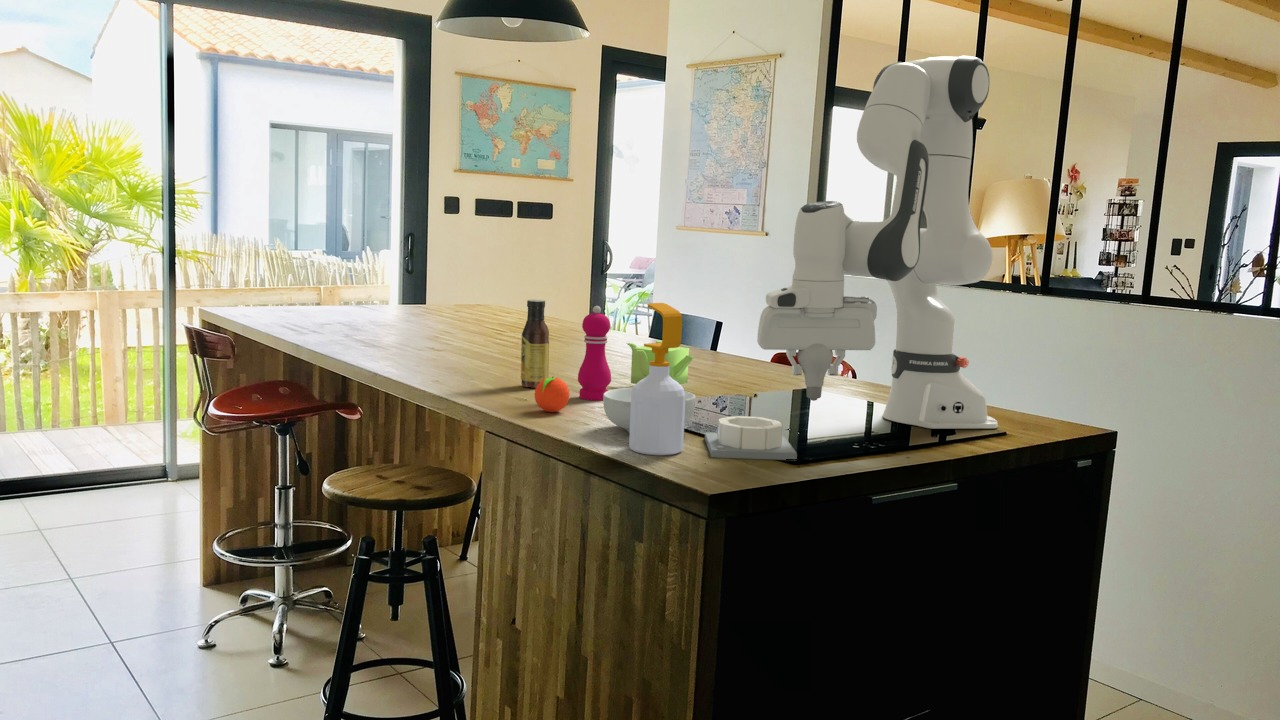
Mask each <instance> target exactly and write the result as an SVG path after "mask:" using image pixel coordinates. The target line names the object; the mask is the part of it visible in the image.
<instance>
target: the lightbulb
mask: <svg viewBox="0 0 1280 720" xmlns="http://www.w3.org/2000/svg"><path fill="white" fill-rule="evenodd" d="M833 359H834V354H833V350H830V349H829V348H828V347H826V346H825V345H823V344H812V345H810V346H809V347H807V348H806V349H804V350H797V362H798V364H800V365H801V366H802V370H801V371H802V374H803V376H804V384H805V387H806V397H807V398H809V400H811V401H813V402H814V401H817V400H818V399H821V397H822V393H823V392H822V391H823V390H822V389H823V387H824V381H825V376H826V373H828V370H829V369H828V368H829V367H830V365H831V364H833Z"/></svg>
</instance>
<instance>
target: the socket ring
mask: <svg viewBox="0 0 1280 720" xmlns="http://www.w3.org/2000/svg"><path fill="white" fill-rule="evenodd" d="M717 422H718V423H717V424H718V425H717V433H718V441H719V444H722V445H726V446H730V447H735V448H741V449H761V450H765V449H772V448H776V447H781V445H782V435H783V429H784V428H783V426H784V425H782V423H781V422H780V421H779V420H776V419H771V418H766V417H762V416H759V417H758V416H746V415H745V416H744V415H732V416H727V417H721V418H718V421H717Z"/></svg>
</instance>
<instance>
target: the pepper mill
mask: <svg viewBox="0 0 1280 720" xmlns="http://www.w3.org/2000/svg"><path fill="white" fill-rule="evenodd" d="M601 311H602V309H601V307H600V306H599V305H595V306H594V307H593V308H592V312H593V313H589V314H587V315H586V316H585V317H583V320H582V324H581V325H582V326H581V327H582V330H583V332H584V333H585V335H584V340H583V342H584V343H585V354H584V358H583V360H582V364H581V365H580V368H579V370H578V373H577V374H578V375H577V381H578V383H579V385H580V386H581V387H582V388H580V389H579V393H578V394H579V398H580V400H584V401H585V400H586V401H593V402H595V401H603V394H604V393H605V392H607V391H609V390H608V389H607V387H608V386H609V385H610V384H611V382H612V373H611V369H610V366H609V364H608V361H607V358H606V357H607V356H606V344H607V343H608V336H607V334H608V333H609V332H610V329H611V321H610V319H609V317H607V316H606V315H605V314H602V313H601Z"/></svg>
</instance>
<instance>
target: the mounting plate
mask: <svg viewBox="0 0 1280 720" xmlns="http://www.w3.org/2000/svg"><path fill="white" fill-rule="evenodd" d="M704 441H705V444H706V446H707V449H708V452H709V454H710V457H711V458H719V459H720V458H725V459H749V460H753V459H754V460H777V461H778V460H779V461H787V460H786V459H797V460H798V458H797V457H798V453H797V451H796V450H795V449H794V447H793V446H792V444H791V443H790V442H789V441H788V440H787V438H786V437H785V436H784V435H783V434H782V445H781V447H776V448H772V449H765V450H761V449H741V448H735V447H730V446H726V445H722V444H719V441H718V432H705V433H704Z"/></svg>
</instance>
